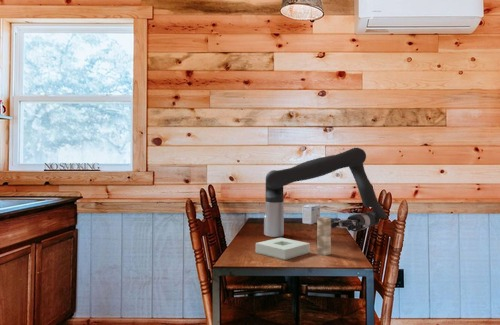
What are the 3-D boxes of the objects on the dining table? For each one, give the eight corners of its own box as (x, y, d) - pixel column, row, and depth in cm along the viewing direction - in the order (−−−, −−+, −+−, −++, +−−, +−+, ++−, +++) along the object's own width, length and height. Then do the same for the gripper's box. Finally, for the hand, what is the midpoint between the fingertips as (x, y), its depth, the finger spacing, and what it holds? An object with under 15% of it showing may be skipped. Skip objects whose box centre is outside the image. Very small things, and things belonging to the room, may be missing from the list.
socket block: (255, 252, 156) (255, 243, 156) (280, 246, 167) (280, 237, 167) (284, 260, 145) (284, 249, 145) (309, 252, 156) (309, 243, 156)
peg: (317, 253, 155) (317, 217, 154) (322, 252, 157) (322, 216, 157) (325, 255, 152) (325, 218, 152) (330, 253, 154) (330, 217, 154)
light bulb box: (310, 220, 236) (310, 203, 236) (320, 222, 232) (320, 204, 232) (301, 223, 228) (302, 205, 228) (311, 224, 224) (311, 206, 224)
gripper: (344, 212, 179) (325, 216, 167) (372, 215, 168) (354, 219, 157) (345, 228, 179) (325, 233, 167) (372, 232, 168) (354, 237, 157)
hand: (339, 226), depth 162 cm, fingers open, 8 cm apart
